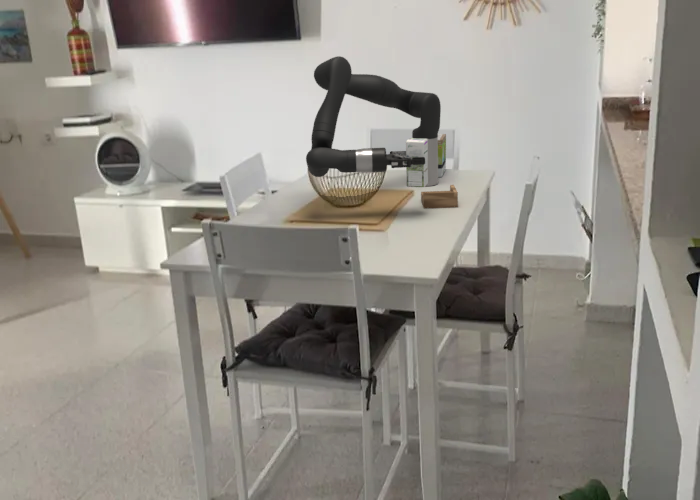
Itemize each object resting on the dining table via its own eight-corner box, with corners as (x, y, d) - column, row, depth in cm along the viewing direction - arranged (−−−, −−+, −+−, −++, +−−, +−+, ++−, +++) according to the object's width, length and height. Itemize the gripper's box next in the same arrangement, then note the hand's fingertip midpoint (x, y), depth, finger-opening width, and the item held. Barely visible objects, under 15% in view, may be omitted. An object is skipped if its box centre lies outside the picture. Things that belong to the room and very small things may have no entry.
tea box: (443, 177, 286) (443, 139, 281) (417, 177, 288) (416, 139, 283) (446, 169, 300) (446, 132, 295) (421, 169, 302) (420, 133, 297)
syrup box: (428, 183, 236) (428, 137, 231) (424, 187, 230) (423, 141, 226) (410, 182, 238) (410, 137, 233) (406, 187, 232) (405, 140, 228)
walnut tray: (421, 200, 253) (420, 185, 251) (453, 199, 252) (453, 184, 251) (423, 208, 242) (423, 193, 241) (457, 207, 242) (457, 192, 240)
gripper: (370, 152, 224) (425, 150, 223) (370, 144, 237) (422, 142, 237) (371, 177, 226) (426, 175, 226) (371, 167, 240) (422, 165, 239)
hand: (423, 158), depth 231 cm, fingers closed on syrup box, 7 cm apart
